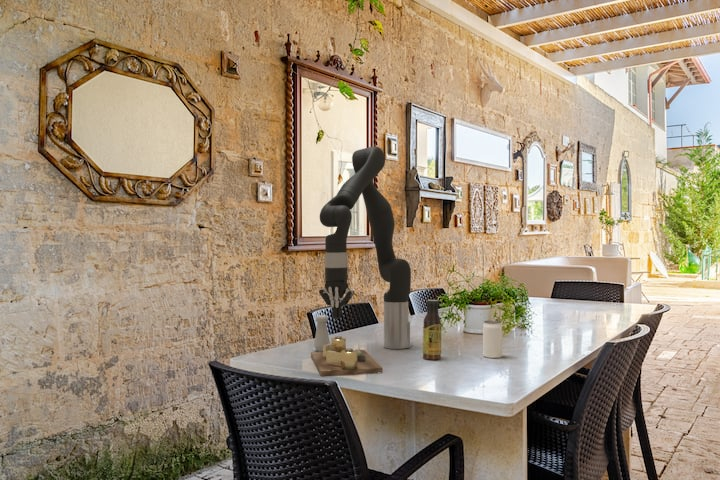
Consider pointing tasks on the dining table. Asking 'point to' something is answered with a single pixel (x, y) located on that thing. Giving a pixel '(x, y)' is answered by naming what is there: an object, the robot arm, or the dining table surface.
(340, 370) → the levelling plate
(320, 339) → the salt shaker
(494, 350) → the can
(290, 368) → the dining table surface
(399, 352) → the dining table surface
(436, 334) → the sauce bottle
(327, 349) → the dial
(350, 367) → the dial
